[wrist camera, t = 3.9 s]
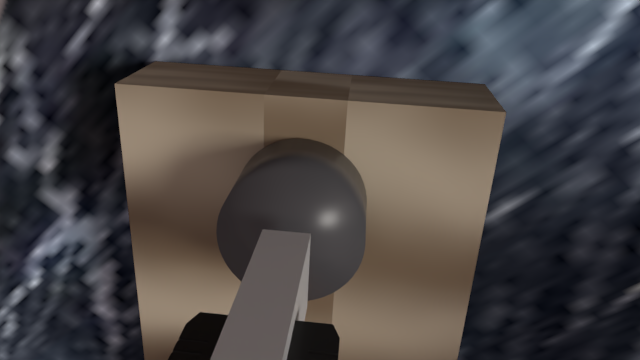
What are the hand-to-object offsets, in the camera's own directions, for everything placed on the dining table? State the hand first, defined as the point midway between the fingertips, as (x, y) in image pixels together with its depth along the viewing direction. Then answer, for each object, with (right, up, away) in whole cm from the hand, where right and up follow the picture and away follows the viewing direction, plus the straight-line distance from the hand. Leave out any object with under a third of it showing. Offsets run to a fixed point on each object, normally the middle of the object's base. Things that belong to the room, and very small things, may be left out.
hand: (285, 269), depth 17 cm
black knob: (+1, +4, +7) cm, 8 cm away
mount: (0, -4, +11) cm, 12 cm away
